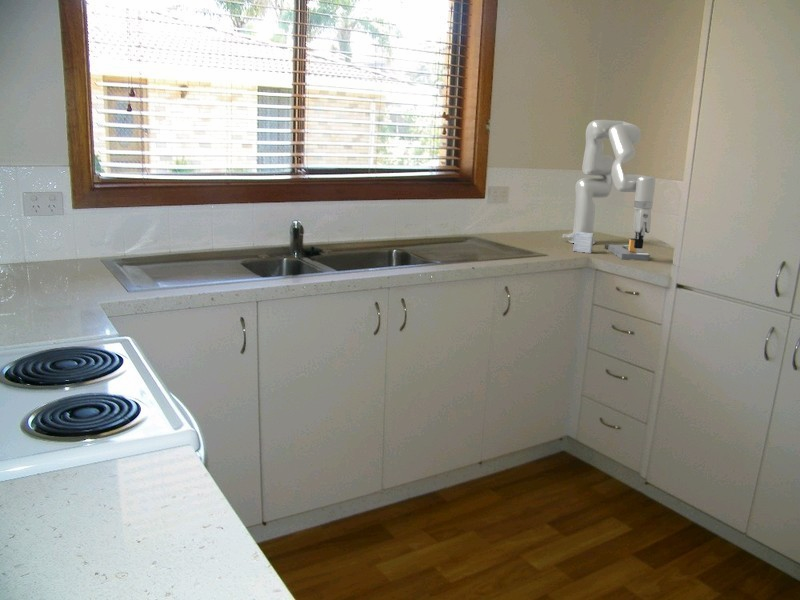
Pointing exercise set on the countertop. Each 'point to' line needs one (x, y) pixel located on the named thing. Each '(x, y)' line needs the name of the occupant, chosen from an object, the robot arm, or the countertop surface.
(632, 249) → the toggle
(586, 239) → the medicine box
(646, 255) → the panel
